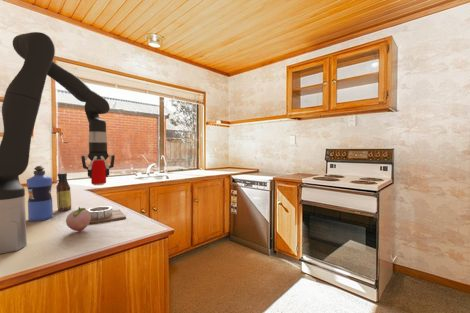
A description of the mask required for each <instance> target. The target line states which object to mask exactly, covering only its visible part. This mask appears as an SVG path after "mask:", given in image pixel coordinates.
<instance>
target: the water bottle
mask: <svg viewBox="0 0 470 313" xmlns="http://www.w3.org/2000/svg"><path fill="white" fill-rule="evenodd" d="M52 186H53V178H52V177H50V176H47V175H46V170H45V167H44V166H42V165H37V166H35V167H34V168H33V176H32V177H28V179H26V187H27V193H28V199H27V218H28V222H41V221H42V222H43V221H47V220H51V219H52V218H54V213H53V212H54V211H53V196H52Z"/></svg>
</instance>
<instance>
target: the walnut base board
mask: <svg viewBox="0 0 470 313" xmlns="http://www.w3.org/2000/svg"><path fill="white" fill-rule="evenodd" d="M126 219H127V216H126V214H124V212H123V211H121V209H119V208H118V209H114V210H113V209H112V216H110V217H107V218H104V219H94V220H92V219H91V220H90V223H89V224H88V226H89V225H95V224H102V223H107V222H113V221H120V220H126Z"/></svg>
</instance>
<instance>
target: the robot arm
mask: <svg viewBox="0 0 470 313" xmlns="http://www.w3.org/2000/svg"><path fill="white" fill-rule="evenodd" d="M12 47H13V50H14V51H15V52H16V54H17V55H19V57H20V58H22V59H23V60H24V61H23V65H22V67H21V68H20V70H19V71H18V73H17V74H16V75H15V76H14V78H13V79H12V80H11V82H9V84H8V86H7V87H6V90H5V93H4V96H3V99H2V105H1V116H2V122H3V135H2V138H1V142H0V255H1V254H5V253H6V254H7V253H11V252H17V251H19V250H20V249H23V248H24V247H26V246H27V220H26V190H25V188H24V186H23V185H22V184H21V181H20V176H21V175H22V174H23V173H24V172H25V171H26V170H27V168H28V166H29V161H30V160H29V159H30V151H31V142H32V137H33V132H34V129H35V126H36V125H35V124H36V120H37V117H38V113H39V109H40V105H41V102H42V95H43V92H44V88H45V84H46V80H47V76H48V77H49V78H51V79H52V80H53V81H54V82H56V83H58V84H59V85H60V86H61V87H63V88H64V89H65V90H66V91H67V92H69V93H70V94H71V95H72V96H73V97H74V98H75V99H76V100H78V102H79V101H80V102H82V103H85V104H84V112H85V115H86V119H87V121H88V155H81V156H80V159H81V163H82V168H83V169H85V170H87V177H88V178H90V179H91V178H92V176H91V168H92V163H93V162H94V160H103V161H104V162H105V165H106V178H108V177H109V176H110V169H112V168H114V165H115V158H116V156H115V155H113V154H109V153H108V137H107V136H108V135H107V121H106V120H104V119H100V116H99V115H104V114H107V113H109V111H110V109H111V108H110V104H109V102H108V101H107V99H105V98H104V97H103V96H101V95H100V94H99V93H97V92H95V91H94V90H92V89H91V88H90V87H89V86H88V85H87V84H86V83H85V82H84V81H83V80H82V79H80V77H78V76H77V75H76V74H74V73H72V72H70V71H68V70H67V69H65V68H63V66H60V65H59V64H57V63H56V62H54V58H55V56H56V47H55V42H54V41H53V40H52V39H51V37H50V36H49V35H47V34H45V33H44V32H39V31H32V32H27V33H21V34H18V35H16V36H15V37H14V38H12ZM108 158H109V160H110V163H109V164H108V162H107V159H108ZM87 159H89V160H90V162H89V164H88V165H87V163H86V161H87Z"/></svg>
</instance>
